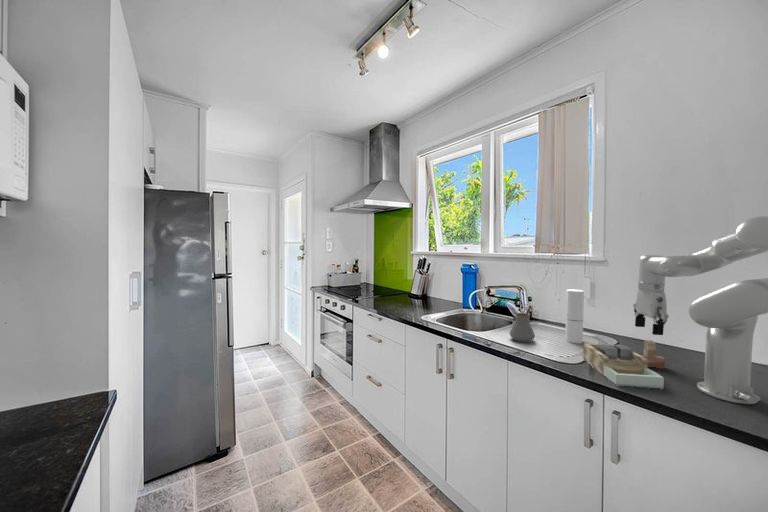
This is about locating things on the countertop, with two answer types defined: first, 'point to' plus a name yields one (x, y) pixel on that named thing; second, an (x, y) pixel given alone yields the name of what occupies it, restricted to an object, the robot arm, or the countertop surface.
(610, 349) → the blue-grey cube
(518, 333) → the coffee pot
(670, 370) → the countertop surface
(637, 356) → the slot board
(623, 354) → the blue-grey cube
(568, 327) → the cylindrical container
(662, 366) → the wooden t-shaped piece
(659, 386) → the tray
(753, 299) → the robot arm
